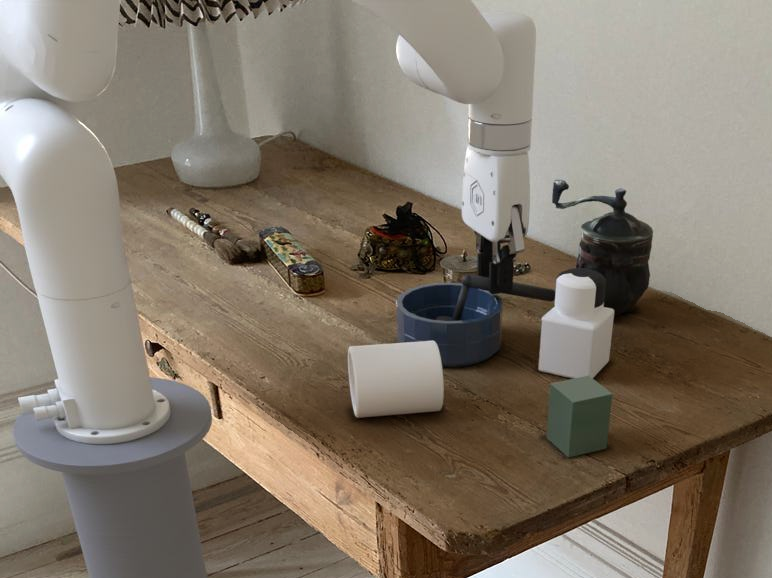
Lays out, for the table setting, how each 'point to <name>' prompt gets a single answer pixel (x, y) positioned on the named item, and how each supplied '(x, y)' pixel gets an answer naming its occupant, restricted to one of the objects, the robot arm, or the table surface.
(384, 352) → the mug
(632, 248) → the coffee grinder
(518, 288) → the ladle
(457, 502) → the table surface
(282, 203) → the table surface
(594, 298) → the medicine bottle
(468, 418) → the table surface
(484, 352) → the bowl
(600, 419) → the green rectangular block
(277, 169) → the table surface
